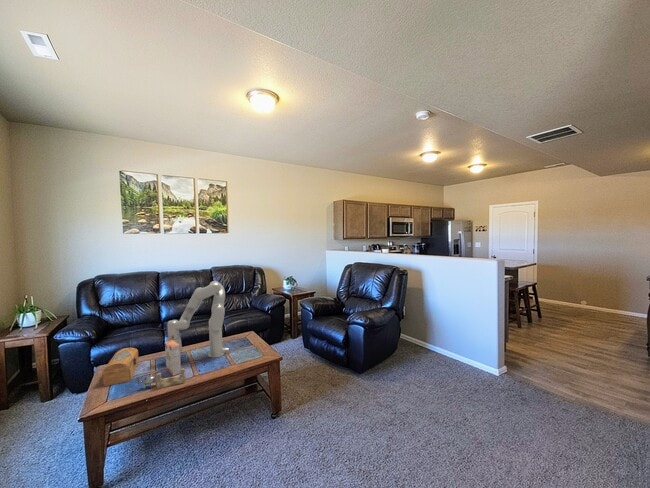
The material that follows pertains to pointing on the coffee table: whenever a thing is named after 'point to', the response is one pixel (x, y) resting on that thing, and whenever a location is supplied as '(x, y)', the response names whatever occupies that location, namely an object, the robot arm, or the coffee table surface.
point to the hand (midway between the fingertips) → (174, 360)
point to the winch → (148, 380)
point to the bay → (170, 380)
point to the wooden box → (121, 367)
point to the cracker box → (173, 357)
